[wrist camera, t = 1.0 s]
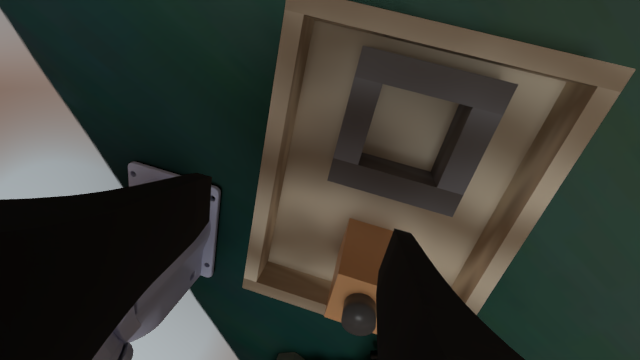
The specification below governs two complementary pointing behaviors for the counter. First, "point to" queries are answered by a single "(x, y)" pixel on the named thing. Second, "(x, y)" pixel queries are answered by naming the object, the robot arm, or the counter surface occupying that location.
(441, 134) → the walled box
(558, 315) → the counter surface
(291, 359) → the valve
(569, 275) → the counter surface
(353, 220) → the connector
